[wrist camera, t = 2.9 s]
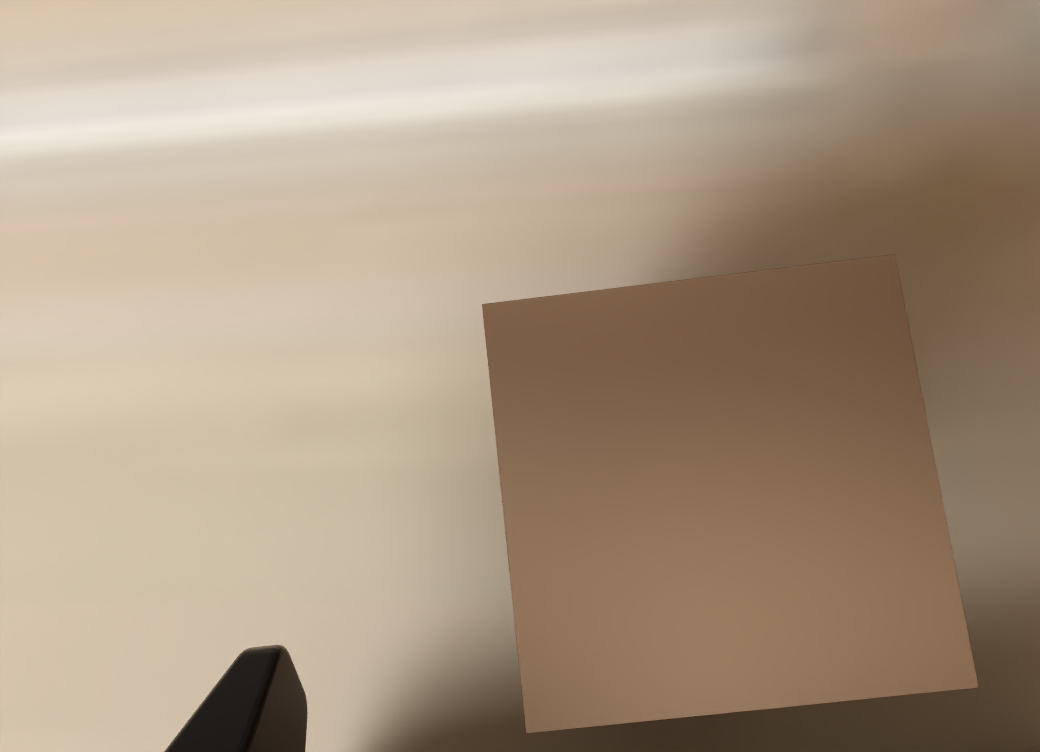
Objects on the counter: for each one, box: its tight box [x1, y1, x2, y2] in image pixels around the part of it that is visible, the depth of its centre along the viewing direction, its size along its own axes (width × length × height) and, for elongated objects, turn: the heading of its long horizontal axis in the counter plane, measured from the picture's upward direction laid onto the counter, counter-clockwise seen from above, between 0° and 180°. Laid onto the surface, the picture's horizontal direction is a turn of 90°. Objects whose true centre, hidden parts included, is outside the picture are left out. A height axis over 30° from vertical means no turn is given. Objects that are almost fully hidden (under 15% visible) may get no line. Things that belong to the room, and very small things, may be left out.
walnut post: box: [482, 254, 978, 733], centre depth 13 cm, size 4×4×10 cm
